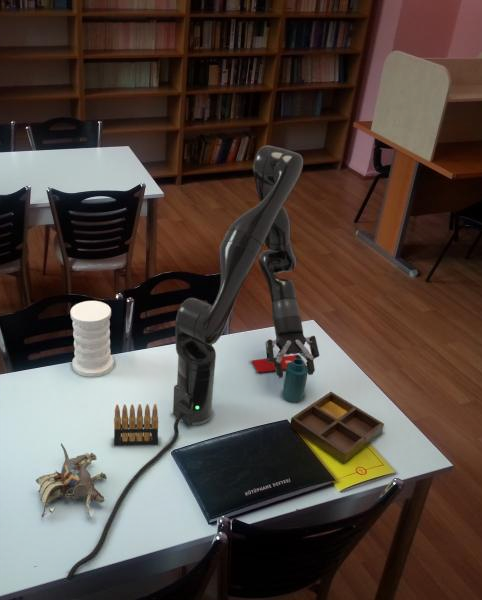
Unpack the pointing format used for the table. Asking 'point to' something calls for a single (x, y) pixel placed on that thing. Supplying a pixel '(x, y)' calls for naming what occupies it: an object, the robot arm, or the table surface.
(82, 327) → the decorative container
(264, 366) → the electronic device
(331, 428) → the compartment tray
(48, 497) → the figurine
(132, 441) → the ammunition clip
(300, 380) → the bottle
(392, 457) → the table surface
